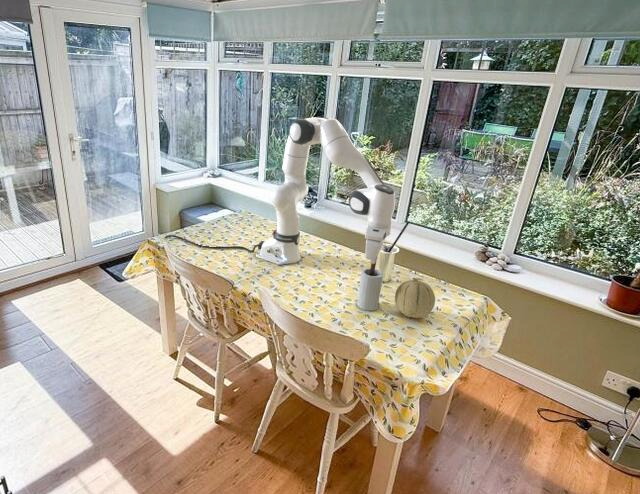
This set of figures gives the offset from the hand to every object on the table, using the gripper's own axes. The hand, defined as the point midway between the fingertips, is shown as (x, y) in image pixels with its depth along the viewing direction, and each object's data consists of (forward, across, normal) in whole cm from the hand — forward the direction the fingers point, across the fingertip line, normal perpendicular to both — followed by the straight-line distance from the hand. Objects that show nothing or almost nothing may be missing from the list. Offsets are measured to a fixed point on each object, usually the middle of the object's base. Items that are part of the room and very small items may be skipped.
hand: (373, 261), depth 160 cm
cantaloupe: (+20, -1, +17) cm, 26 cm away
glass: (+20, -26, +2) cm, 33 cm away
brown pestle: (+15, 0, 0) cm, 15 cm away
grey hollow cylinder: (+20, 0, 0) cm, 20 cm away
